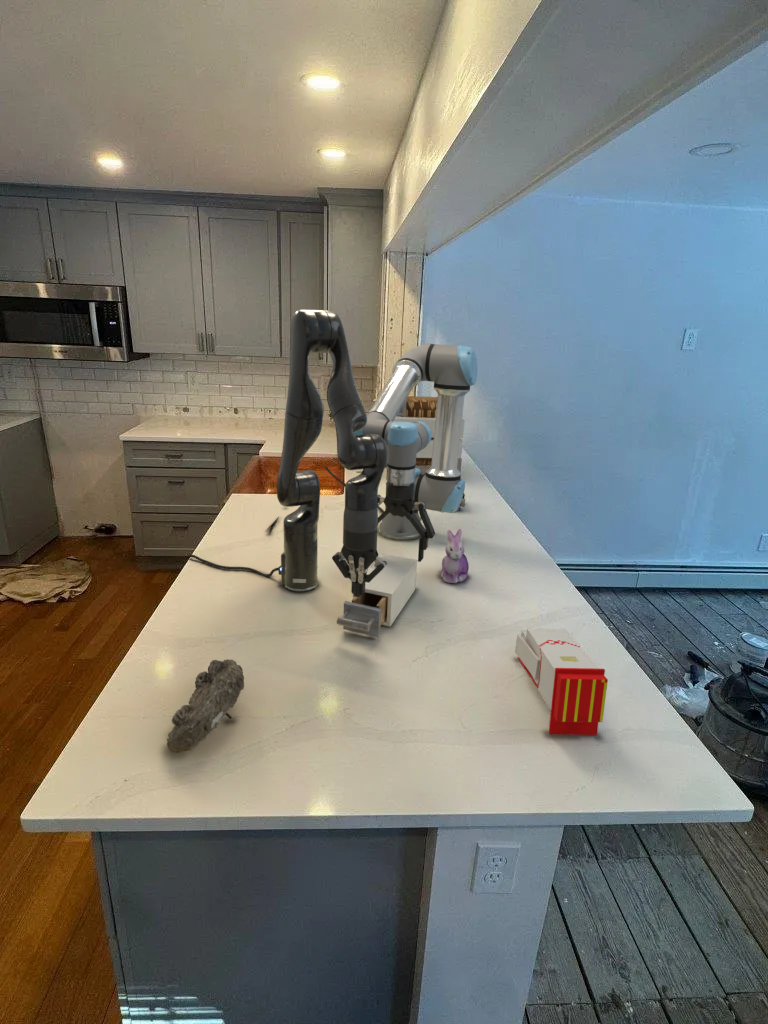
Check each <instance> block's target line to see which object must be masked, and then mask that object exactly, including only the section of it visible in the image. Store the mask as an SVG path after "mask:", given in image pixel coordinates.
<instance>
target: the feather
mask: <svg viewBox="0 0 768 1024" xmlns="http://www.w3.org/2000/svg"><path fill="white" fill-rule="evenodd" d="M285 509H287V507H285ZM279 517H280V516H278V517H277V518H276V519H275V520H274V521H273V522H272V523H271V524H270V525H269V526H268V528H266V531H267V530H268V531H269V532H268V535H270V533H271V532H272V530H273V528H274V527H275V525H276V523H277V521H278V519H279Z"/></svg>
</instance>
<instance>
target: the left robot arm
mask: <svg viewBox="0 0 768 1024" xmlns="http://www.w3.org/2000/svg"><path fill="white" fill-rule="evenodd" d="M289 329H290V330H289V371H288V372H289V375H288V386H287V387H288V388H287V397H286V403H285V413H284V427H283V441H282V448H281V449H282V450H281V456H280V462H279V467H278V472H277V477H276V489H275V490H276V497H277V501H278V504H280V505H281V506H283V507H286V508H292V507H298V508H297V509H295V510H294V511H292V512H291V513H289V514H287V515H286V516H284V519H283V521H282V522H283V523H282V524H283V525H282V526H283V527H282V529H283V552H282V553H281V554H280V566H278V567H275V568H273V569H271V571H270V573H263V572H261V571H259V570H257V569H255V568H252V567H248V566H247V567H246V566H227V565H220V564H217V563H214V562H211V561H208V560H206V559H204V558H201V557H199V556H197V555H196V554H189V555H187V556H186V557H185V559H190V558H193V559H196V560H197V561H199V562H202V563H205V564H207V565H209V566H212V567H215V568H218V569H223V570H244V571H249V572H250V571H251V572H253V573H255V574H257V575H259V576H262V577H265V578H269V577H272V576H273V574H274V572H277V571H278V575H280V577H281V578H280V579H281V586H283V587H285V588H286V589H287V590H289V591H292V592H300V593H301V592H309V591H312V590H314V589H315V588H317V587H318V583H319V581H318V524H319V521H320V520H319V519H320V502H321V501H320V500H321V484H320V483H321V482H320V478H319V475H318V473H317V472H316V471H315V470H313V469H303V470H298V469H299V466H300V463H301V461H302V460H303V458H304V457H305V456H306V454H307V453H308V451H309V450H310V449H311V448H312V446H313V445H314V444H315V442H316V441H317V440H318V438H319V437H320V436H321V432H322V429H323V422H324V415H325V403H324V401H323V398H322V396H321V394H320V392H319V390H318V388H317V386H316V385H315V383H314V380H313V379H312V376H311V373H310V368H309V366H310V365H309V358H310V354H311V353H315V354H316V353H317V354H318V353H320V354H321V353H328V354H329V356H330V358H331V361H332V370H331V373H330V374H331V375H330V377H329V380H328V384H327V387H326V401H327V405H328V407H329V411H330V414H331V417H332V420H333V423H334V426H335V436H336V454H337V460H338V462H339V464H340V465H341V466H342V467H343V468H344V469H346V470H348V471H357V470H362V471H361V472H360V474H358V475H357V476H354V477H352V478H349V479H348V480H347V481H346V482H345V484H346V486H345V485H344V510H343V521H342V522H343V523H342V547H341V549H340V551H337V552H336V553H335V554H333V555H332V556H331V559H332V562H334V564H335V565H336V567H337V569H338V570H339V571H340V573H341V574H342V576H343V577H344V578H345V579H349V580H350V581H351V588H350V589H351V591H350V592H351V594H352V595H353V594H354V596H355V597H361V596H362V595H363V594H364V592H365V582H367V583H369V582H370V581H371V580H372V579H373V578H374V577H375V576H376V575H377V574H378V573H379V572H380V571H381V570H382V569H383V568H384V567H385V566H386V565H387V562H386V561H382V560H381V559H380V558H379V557H380V556H379V552H378V527H379V523H378V517H379V514H378V508H377V496H378V495H379V494H378V493H379V487H380V483H381V480H382V477H383V474H384V472H385V468H386V466H385V465H386V461H387V456H388V449H387V444H386V442H385V440H384V439H383V438H382V437H381V436H380V435H376V434H371V435H360V436H354V434H353V432H356V431H358V430H360V429H362V428H363V427H364V426H365V425H366V423H367V413H366V409H365V407H364V403H363V402H362V398H361V396H360V394H359V391H358V388H357V385H356V381H355V378H354V373H353V367H352V362H351V357H350V351H349V347H348V342H347V336H346V333H345V327H344V324H343V322H342V320H341V318H340V316H339V314H338V313H337V312H335V311H333V310H329V309H298V310H296V311H295V312H294V313H293V315H292V318H291V321H290V328H289ZM376 547H377V549H376ZM374 563H375V564H374ZM373 564H374V568H375V569H374V570H373V571H372V572H371V573H370V574H367V571H368V569H369V568H370V567H371V566H372V565H373Z"/></svg>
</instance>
